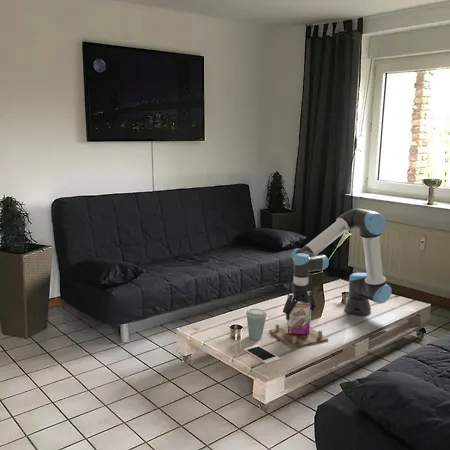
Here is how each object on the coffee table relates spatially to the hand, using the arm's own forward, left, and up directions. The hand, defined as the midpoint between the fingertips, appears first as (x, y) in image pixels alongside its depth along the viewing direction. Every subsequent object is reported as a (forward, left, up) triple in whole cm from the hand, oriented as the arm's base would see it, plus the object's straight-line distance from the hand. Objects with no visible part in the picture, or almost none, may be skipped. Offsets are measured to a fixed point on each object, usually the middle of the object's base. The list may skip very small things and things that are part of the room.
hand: (298, 323), depth 262 cm
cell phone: (+28, +10, -8) cm, 31 cm away
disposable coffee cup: (+21, -8, -8) cm, 24 cm away
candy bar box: (0, 0, -5) cm, 5 cm away
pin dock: (0, 0, -7) cm, 7 cm away
